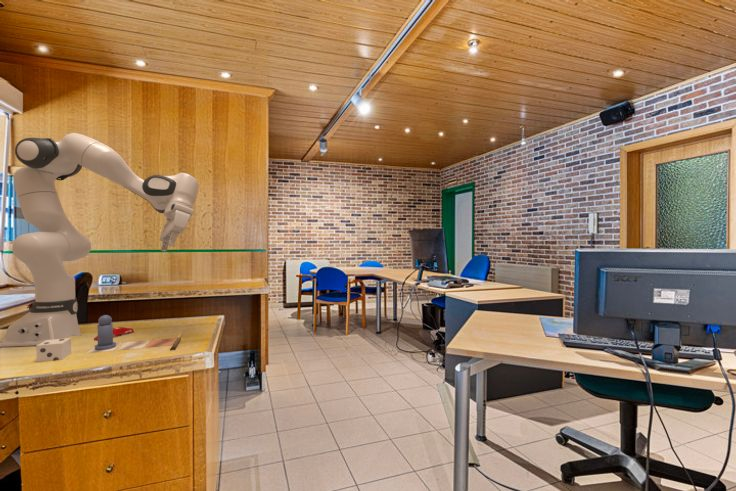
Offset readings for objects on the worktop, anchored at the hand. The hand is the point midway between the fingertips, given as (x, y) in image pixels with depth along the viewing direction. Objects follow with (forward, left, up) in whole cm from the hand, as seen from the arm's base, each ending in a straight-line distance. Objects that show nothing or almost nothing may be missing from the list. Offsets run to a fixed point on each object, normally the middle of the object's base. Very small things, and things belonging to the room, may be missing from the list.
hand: (167, 247), depth 128 cm
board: (-9, -7, -33) cm, 35 cm away
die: (-28, -13, -33) cm, 45 cm away
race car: (-19, +9, -34) cm, 40 cm away
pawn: (-17, -7, -32) cm, 37 cm away
